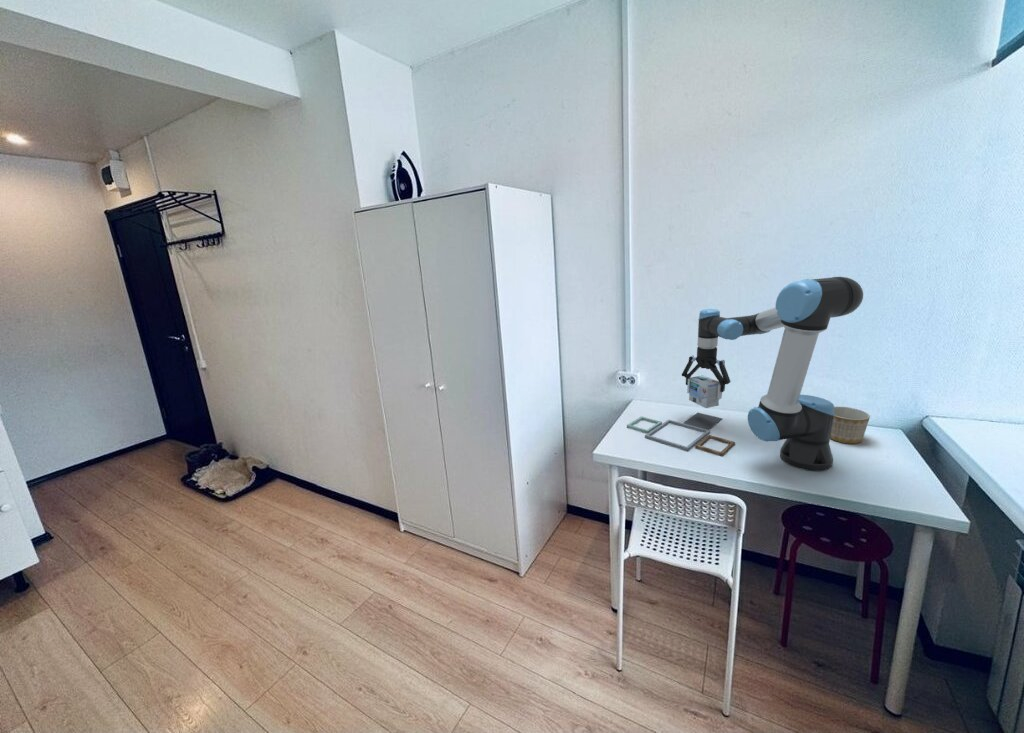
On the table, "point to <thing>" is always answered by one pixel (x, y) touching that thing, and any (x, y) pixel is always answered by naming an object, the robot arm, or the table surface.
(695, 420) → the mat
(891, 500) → the table surface
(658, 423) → the teal frame
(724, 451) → the walnut frame
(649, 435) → the slate frame
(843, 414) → the planter
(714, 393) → the light bulb box
